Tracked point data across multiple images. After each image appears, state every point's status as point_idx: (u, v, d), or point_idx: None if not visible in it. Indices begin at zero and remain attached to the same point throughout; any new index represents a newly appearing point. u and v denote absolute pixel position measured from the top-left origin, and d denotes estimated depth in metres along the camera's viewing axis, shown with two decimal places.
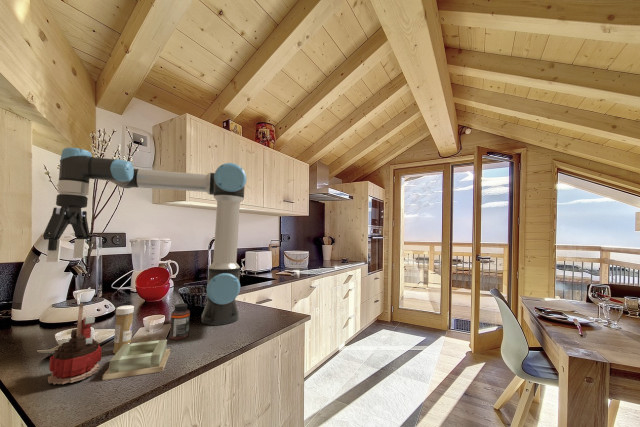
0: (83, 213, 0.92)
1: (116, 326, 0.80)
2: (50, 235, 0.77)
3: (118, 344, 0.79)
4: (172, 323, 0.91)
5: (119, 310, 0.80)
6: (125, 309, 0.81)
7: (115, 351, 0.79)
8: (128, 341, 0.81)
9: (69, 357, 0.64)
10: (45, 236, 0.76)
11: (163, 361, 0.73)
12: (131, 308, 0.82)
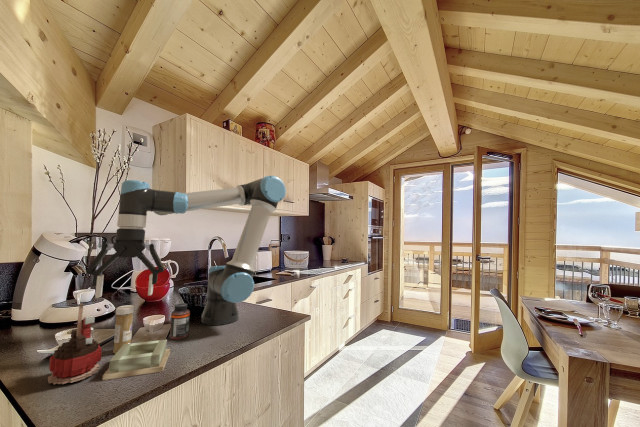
0: None
1: (116, 326, 0.80)
2: None
3: (118, 344, 0.79)
4: (172, 323, 0.91)
5: (119, 310, 0.80)
6: (125, 309, 0.81)
7: (115, 351, 0.79)
8: (128, 341, 0.81)
9: (69, 357, 0.64)
10: None
11: (163, 361, 0.73)
12: (131, 308, 0.82)
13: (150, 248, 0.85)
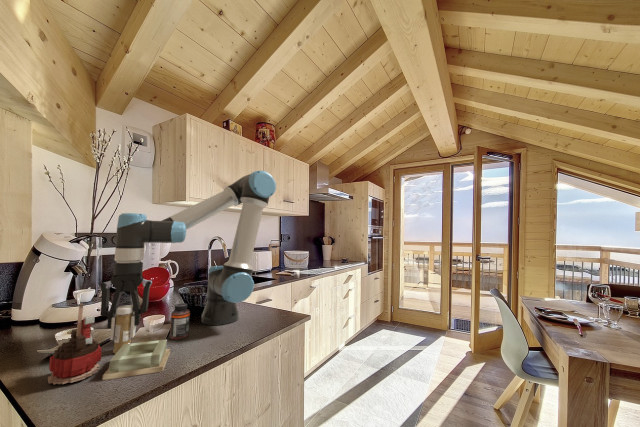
0: None
1: (116, 326, 0.80)
2: None
3: (118, 344, 0.79)
4: (172, 323, 0.91)
5: (119, 310, 0.80)
6: (125, 309, 0.81)
7: (115, 351, 0.79)
8: (128, 341, 0.81)
9: (69, 357, 0.64)
10: None
11: (163, 361, 0.73)
12: (131, 308, 0.82)
13: (146, 285, 0.84)
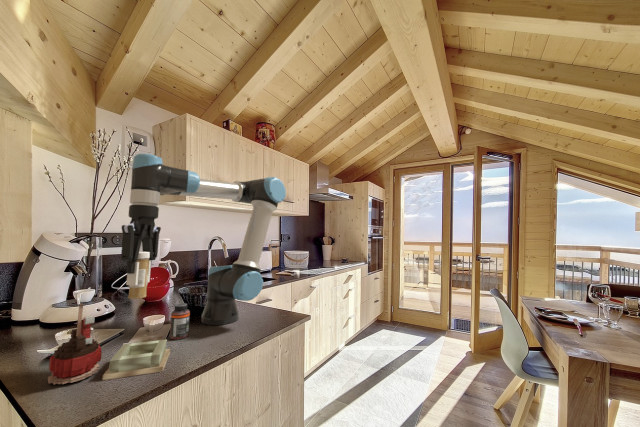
0: (157, 228, 0.85)
1: (140, 270, 0.76)
2: (127, 258, 0.73)
3: (143, 288, 0.77)
4: (172, 323, 0.91)
5: (145, 254, 0.77)
6: (148, 253, 0.79)
7: (140, 296, 0.76)
8: None
9: (69, 357, 0.63)
10: (123, 259, 0.73)
11: (163, 361, 0.73)
12: None
13: (158, 230, 0.84)
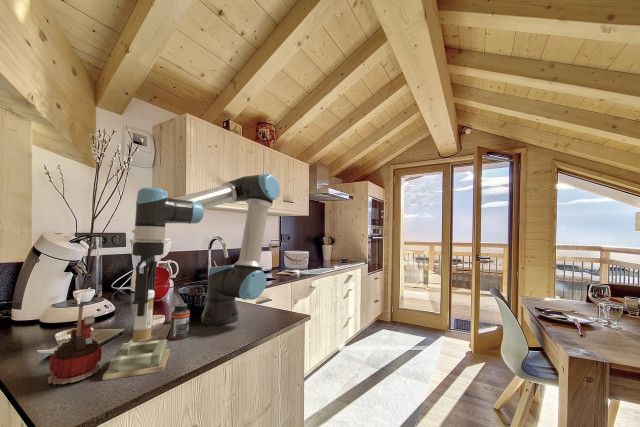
0: None
1: (148, 311, 0.73)
2: (141, 300, 0.69)
3: (150, 329, 0.74)
4: (172, 323, 0.91)
5: (152, 293, 0.75)
6: (154, 291, 0.76)
7: (148, 337, 0.73)
8: None
9: (69, 357, 0.63)
10: (136, 302, 0.69)
11: (163, 361, 0.73)
12: None
13: (155, 266, 0.81)
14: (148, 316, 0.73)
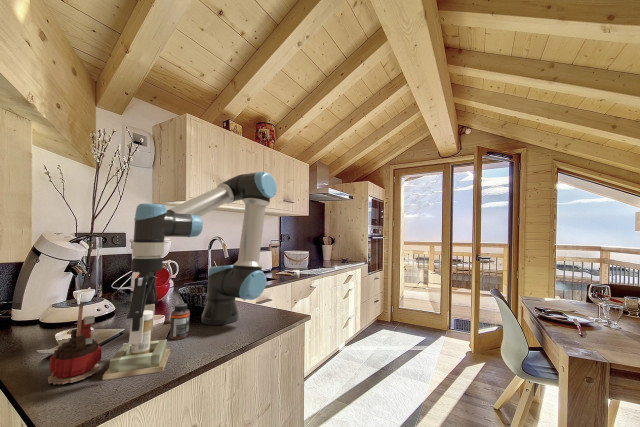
0: (153, 274, 0.81)
1: (146, 333, 0.72)
2: (136, 315, 0.65)
3: (148, 351, 0.72)
4: (172, 323, 0.91)
5: (151, 314, 0.73)
6: (152, 312, 0.74)
7: None
8: None
9: (69, 357, 0.63)
10: (131, 316, 0.65)
11: (163, 361, 0.73)
12: None
13: (155, 276, 0.81)
14: (146, 338, 0.72)
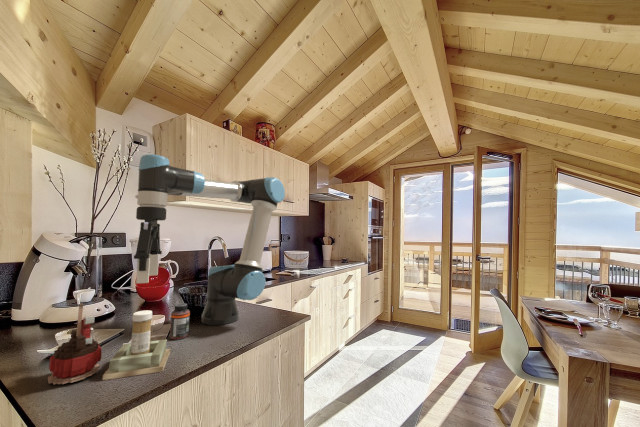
0: (157, 226, 0.84)
1: (146, 333, 0.72)
2: (143, 254, 0.68)
3: (148, 351, 0.72)
4: (172, 323, 0.91)
5: (150, 314, 0.73)
6: None
7: None
8: None
9: (69, 357, 0.63)
10: (138, 255, 0.68)
11: (163, 361, 0.73)
12: None
13: None
14: (146, 338, 0.72)
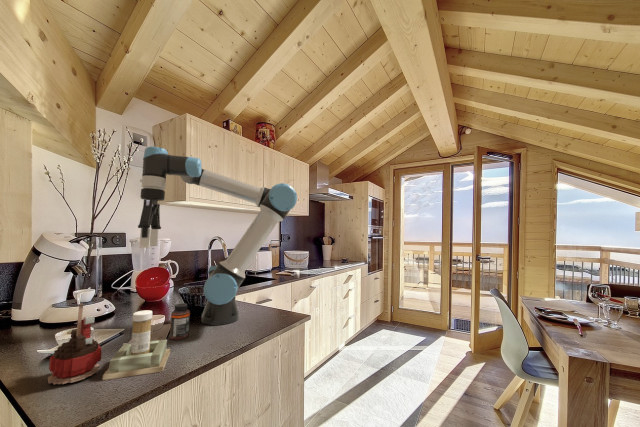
0: None
1: (146, 333, 0.72)
2: (145, 224, 0.87)
3: (148, 351, 0.72)
4: (172, 323, 0.91)
5: (150, 314, 0.73)
6: None
7: None
8: None
9: (69, 357, 0.63)
10: (141, 225, 0.87)
11: (163, 361, 0.73)
12: None
13: (159, 207, 1.03)
14: (146, 338, 0.72)
